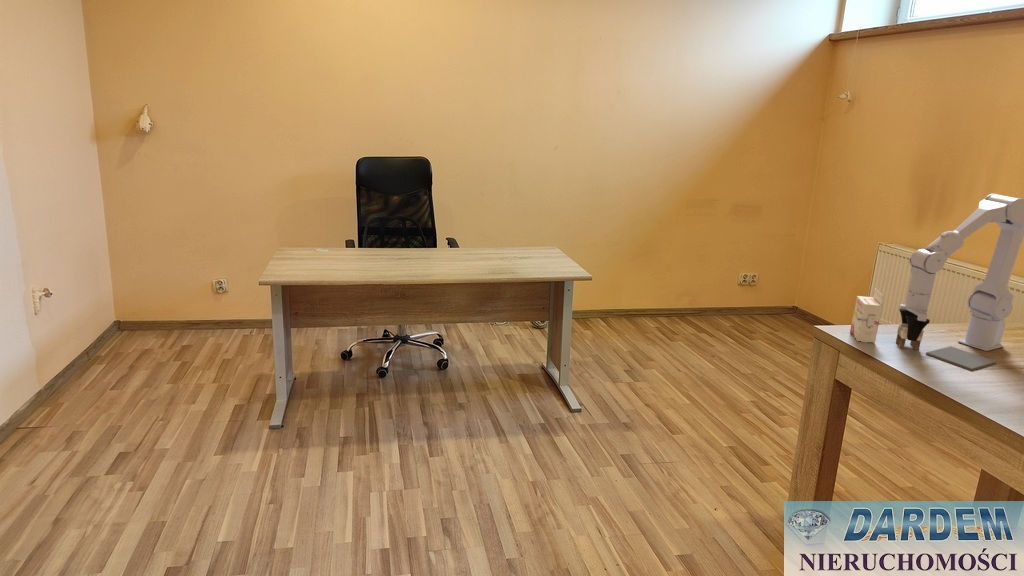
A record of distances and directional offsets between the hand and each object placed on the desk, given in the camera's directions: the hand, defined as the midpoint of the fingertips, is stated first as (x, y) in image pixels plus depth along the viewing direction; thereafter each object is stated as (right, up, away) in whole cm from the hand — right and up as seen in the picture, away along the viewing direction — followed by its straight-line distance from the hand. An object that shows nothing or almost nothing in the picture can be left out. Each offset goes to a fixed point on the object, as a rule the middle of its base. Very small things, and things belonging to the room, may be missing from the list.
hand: (909, 337), depth 185 cm
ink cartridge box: (-10, -1, +7) cm, 12 cm away
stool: (0, -3, +1) cm, 3 cm away
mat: (+10, -6, -7) cm, 13 cm away
